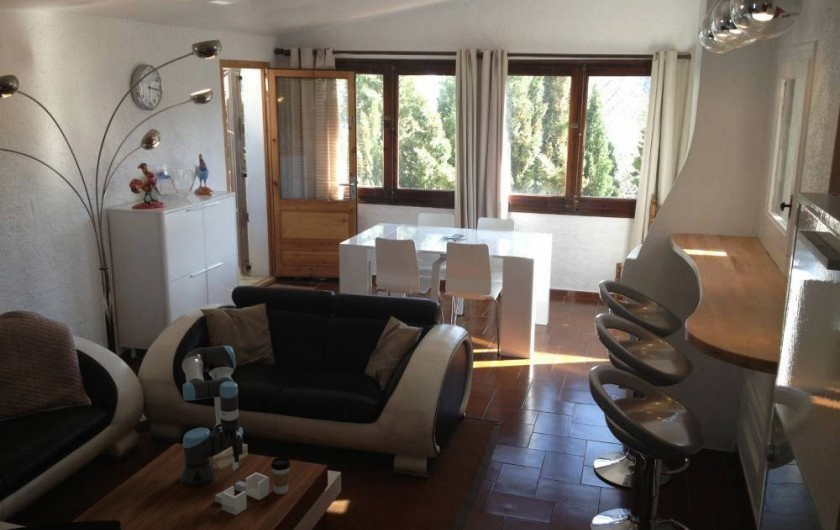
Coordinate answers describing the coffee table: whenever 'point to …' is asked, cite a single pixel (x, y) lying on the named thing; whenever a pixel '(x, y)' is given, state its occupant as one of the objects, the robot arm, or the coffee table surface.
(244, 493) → the bracket pair
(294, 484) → the coffee table surface
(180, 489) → the coffee table surface
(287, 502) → the coffee table surface
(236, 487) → the rest blocks
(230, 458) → the rail
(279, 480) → the coffee cup
